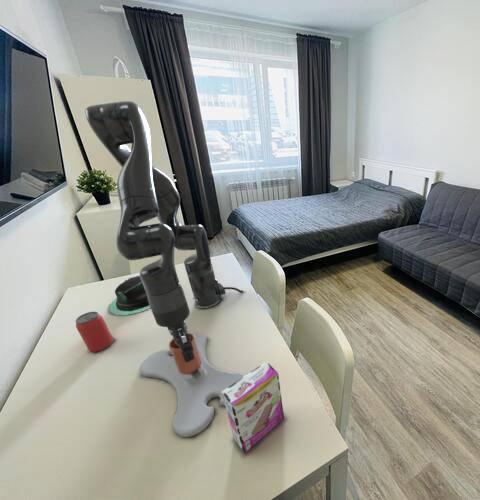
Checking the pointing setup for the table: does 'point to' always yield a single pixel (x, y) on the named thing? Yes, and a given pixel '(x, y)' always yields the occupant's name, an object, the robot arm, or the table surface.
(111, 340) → the beer can
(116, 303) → the black and green hat
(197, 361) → the cup
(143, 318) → the table surface
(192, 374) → the holder
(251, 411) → the candy bar box
